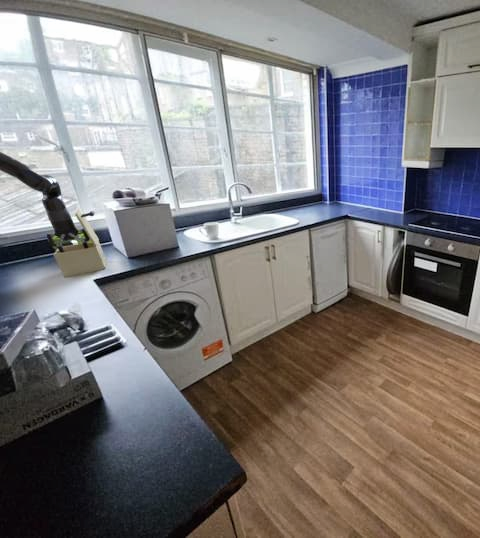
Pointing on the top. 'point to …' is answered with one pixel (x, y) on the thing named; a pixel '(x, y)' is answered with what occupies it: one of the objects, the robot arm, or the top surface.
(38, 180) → the robot arm
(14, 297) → the top surface
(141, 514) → the top surface
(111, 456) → the top surface
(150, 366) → the top surface
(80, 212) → the lid
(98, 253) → the bin
